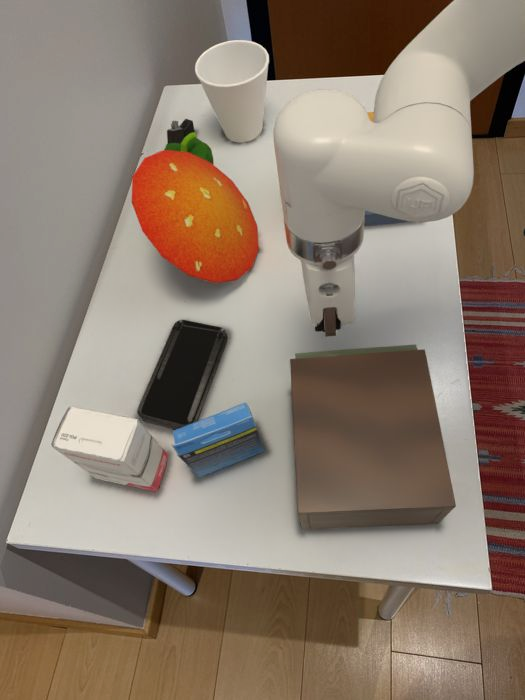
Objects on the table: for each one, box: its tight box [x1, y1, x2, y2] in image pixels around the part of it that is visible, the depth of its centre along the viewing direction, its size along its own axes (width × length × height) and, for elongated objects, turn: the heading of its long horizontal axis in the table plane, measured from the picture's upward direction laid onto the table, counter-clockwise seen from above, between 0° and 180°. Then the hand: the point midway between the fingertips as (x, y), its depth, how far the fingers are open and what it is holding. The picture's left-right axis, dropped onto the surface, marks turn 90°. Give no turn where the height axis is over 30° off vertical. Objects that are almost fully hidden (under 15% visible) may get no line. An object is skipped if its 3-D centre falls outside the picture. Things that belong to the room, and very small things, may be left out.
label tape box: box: [170, 401, 266, 478], centre depth 57 cm, size 9×4×12 cm, turn 110°
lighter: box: [166, 118, 196, 145], centre depth 89 cm, size 8×2×5 cm
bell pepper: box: [163, 131, 215, 166], centre depth 80 cm, size 8×8×10 cm
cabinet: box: [289, 348, 457, 531], centre depth 56 cm, size 17×15×9 cm
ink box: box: [50, 406, 169, 492], centre depth 58 cm, size 9×5×12 cm, turn 77°
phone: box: [136, 319, 229, 430], centre depth 68 cm, size 8×1×15 cm
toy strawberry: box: [131, 149, 260, 284], centre depth 72 cm, size 15×21×15 cm
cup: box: [194, 39, 270, 144], centre depth 85 cm, size 12×12×12 cm
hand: (327, 325), depth 65 cm, fingers closed
